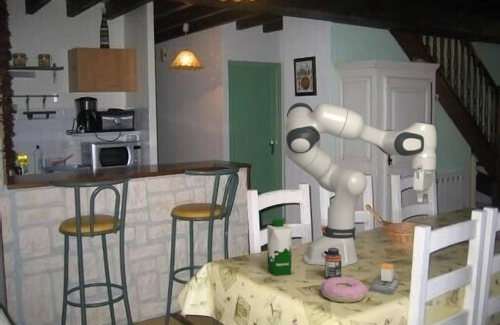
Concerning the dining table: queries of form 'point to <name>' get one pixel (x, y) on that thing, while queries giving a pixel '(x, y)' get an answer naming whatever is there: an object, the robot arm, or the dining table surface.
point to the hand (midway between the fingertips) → (422, 200)
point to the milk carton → (279, 248)
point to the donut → (343, 289)
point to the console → (384, 285)
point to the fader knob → (387, 272)
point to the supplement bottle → (332, 263)
